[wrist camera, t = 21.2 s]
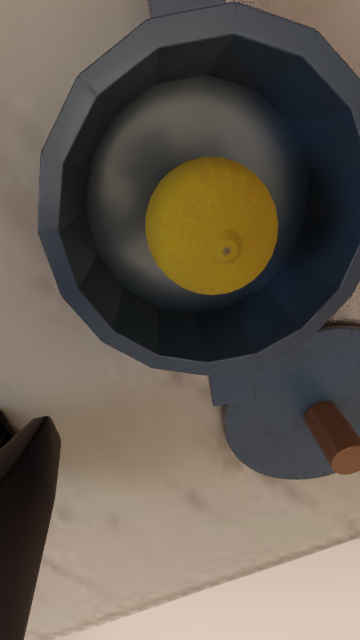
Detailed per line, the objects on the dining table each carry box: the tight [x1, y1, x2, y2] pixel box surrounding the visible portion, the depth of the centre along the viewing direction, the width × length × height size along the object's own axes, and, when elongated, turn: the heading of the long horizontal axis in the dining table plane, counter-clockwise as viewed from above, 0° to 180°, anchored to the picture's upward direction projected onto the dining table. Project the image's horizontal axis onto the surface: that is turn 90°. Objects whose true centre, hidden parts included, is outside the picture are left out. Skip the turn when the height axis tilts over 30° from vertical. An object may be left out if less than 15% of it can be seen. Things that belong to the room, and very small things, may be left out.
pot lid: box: [223, 325, 360, 480], centre depth 23 cm, size 15×15×5 cm
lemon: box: [145, 157, 278, 295], centre depth 14 cm, size 6×6×8 cm
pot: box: [38, 0, 360, 406], centre depth 16 cm, size 14×19×6 cm
